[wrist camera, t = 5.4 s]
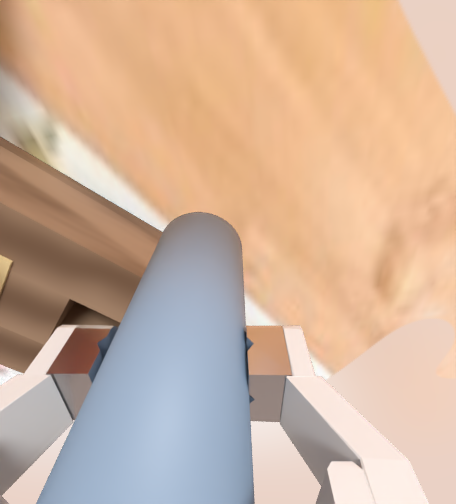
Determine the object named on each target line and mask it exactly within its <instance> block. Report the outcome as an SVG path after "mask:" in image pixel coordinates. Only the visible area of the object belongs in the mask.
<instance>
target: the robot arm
mask: <svg viewBox="0 0 456 504" xmlns="http://www.w3.org/2000/svg"><path fill="white" fill-rule="evenodd" d="M117 330H118V327H116V326H104V325H61V326H59V327H58V328H57V329H56V330H55V331H54V333H53V334H52V335H51V337H50V338H49V340H48V341H47V342H46V344H45V345H44V346H43V348H42V349H41V351H40V352H39V353H38V355H37V356H36V357H35V359H34V360H33V362H32V363H31V364H30V366H29V367H28V369H27V370H26V371H25V373H24V374H21V375H16V376H14V377H13V378H11V379H10V380H8V381H7V382H5V383H4V384H2V385H0V504H8V502H7V501H6V500H5V499H4V498H3V497H2V495H3V494H4V493H5V492H6V491H7V490H8V489H9V487H11V486H12V485H13V483H14V482H15V481H16V480H17V479H18V478H19V477H20V476H21V475H22V474H23V473H24V472H25V471H26V470H27V469H28V468H29V467H30V466H31V465H32V464H33V463H34V462H35V461H36V460H37V459H38V458H39V457H40V456H41V455H42V454H43V453H44V452H45V451H46V450H47V449H48V448H49V447H50V446H51V445H52V444H53V443H54V441H55V440H56V439H57V438H58V437H59V436H60V435H61V434H62V433H63V432H64V431H65V430H66V429H67V428H68V427H69V426H70V425H71V424H72V423H73V420H75V419H76V417H77V415H78V413H79V411H80V409H81V407H82V404H83V402H84V400H85V398H86V396H87V394H88V392H89V389H90V387H91V385H92V383H93V381H94V379H95V377H96V374H97V372H98V370H99V368H100V366H101V364H102V362H103V359H104V357H105V355H106V353H107V351H108V349H109V347H110V345H111V342H112V340H113V338H114V336H115V334H116V332H117ZM246 352H247V375H248V392H249V403H250V421H266V422H280V425H281V426H282V427H283V429H284V430H285V432H286V434H287V435H288V437H289V438H290V440H291V441H292V443H293V444H294V446H295V447H296V449H297V450H298V452H299V453H300V455H301V456H302V457H303V459H304V461H305V462H306V464H307V465H308V467H309V468H310V470H311V471H312V473H313V474H314V476H315V477H316V479H317V480H318V482H319V483H320V485H321V489H320V492H319V495H318V498H317V501H316V504H429V503H428V500H427V498H426V496H425V494H424V492H423V490H422V488H421V485H420V483H419V481H418V479H417V477H416V475H415V473H414V470H413V468H412V466H411V464H410V462H409V460H408V459H407V458H406V457H405V456H404V455H403V454H401V453H400V452H399V451H398V450H397V449H396V448H395V447H394V446H393V445H392V444H391V443H390V442H389V441H388V440H387V439H386V438H385V437H384V436H383V435H382V434H381V433H380V432H379V431H378V430H377V429H375V427H374V426H372V425H371V424H370V423H369V422H368V421H367V420H366V419H365V418H364V417H363V416H362V415H361V414H360V413H359V412H358V411H357V410H356V409H355V408H354V407H353V406H352V405H351V404H349V403H348V401H346V400H345V399H344V398H343V397H342V396H341V395H340V394H339V393H338V392H337V391H336V390H335V389H334V388H333V387H332V386H331V385H330V384H329V383H328V382H327V381H326V380H325V379H324V378H323V377H321V376H315V372H314V369H313V365H312V362H311V358H310V355H309V351H308V348H307V344H306V341H305V337H304V333H303V330H302V328H301V326H300V325H291V326H246Z"/></svg>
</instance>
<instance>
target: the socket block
mask: <svg viewBox="0 0 456 504" xmlns="http://www.w3.org/2000/svg"><path fill="white" fill-rule="evenodd" d="M162 233H163V232H161V231H159V230H158V229H156V228H154V227H153V226H151V225H149V224H148V223H146V222H144V221H142V220H141V219H139V218H137V217H136V216H134V215H132V214H131V213H129V212H127V211H125V210H124V209H122V208H120V207H119V206H117V205H115V204H114V203H112V202H110V201H108V200H107V199H105V198H103V197H102V196H100V195H98V194H97V193H95V192H93V191H92V190H90V189H88V188H86V187H85V186H83V185H81V184H80V183H78V182H76V181H75V180H73V179H71V178H69V177H68V176H66V175H64V174H63V173H61V172H59V171H58V170H56V169H54V168H52V167H51V166H49V165H47V164H46V163H44V162H42V161H41V160H39V159H37V158H36V157H34V156H32V155H30V154H29V153H27V152H25V151H24V150H22V149H20V148H19V147H17V146H15V145H13V144H12V143H10V142H8V141H7V140H5V139H3V138H2V137H0V364H1V365H4V366H6V367H9V368H11V369H14V370H16V371H19V372H22V373H25V371H26V370H27V369H28V367H29V366H30V364H31V363H32V362H33V360H34V359H35V357H36V356H37V355H38V353H39V352H40V351H41V349H42V348H43V346H44V345H45V344H46V342H47V341H48V340H49V338H50V337H51V335H52V334H53V333H54V331H55V330H56V329H57V328H58V327H59V326H61V325H104V326H116V327H119V325H120V323H121V321H122V319H123V317H124V315H125V312H126V310H127V308H128V306H129V304H130V302H131V300H132V297H133V295H134V293H135V291H136V289H137V287H138V285H139V282H140V280H141V278H142V276H143V274H144V272H145V270H146V268H147V265H148V263H149V261H150V259H151V257H152V255H153V253H154V250H155V248H156V246H157V244H158V242H159V240H160V238H161V235H162Z"/></svg>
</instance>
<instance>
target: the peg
mask: <svg viewBox="0 0 456 504" xmlns="http://www.w3.org/2000/svg"><path fill="white" fill-rule="evenodd" d="M36 504H254V484H253V465H252V443H251V425H250V403H249V392H248V375H247V352H246V321H245V301H244V281H243V260H242V245H241V241H240V238H239V236H238V234H237V232H236V231H235V229H234V228H233V227H232V226H231V225H230V224H229V223H228V222H227V221H225V220H224V219H222V218H220V217H218V216H216V215H213V214H209V213H203V212H194V213H188V214H184V215H182V216H179V217H178V218H176V219H174V220H173V221H172V222H170V223H169V224H168V225H167V227H166V228H165V230H164V231H163V233H162V235H161V238H160V240H159V242H158V244H157V246H156V248H155V250H154V253H153V255H152V257H151V259H150V261H149V263H148V265H147V268H146V270H145V272H144V274H143V276H142V278H141V280H140V282H139V285H138V287H137V289H136V291H135V293H134V295H133V297H132V300H131V302H130V304H129V306H128V308H127V310H126V312H125V315H124V317H123V319H122V321H121V323H120V325H119V327H118V330H117V332H116V334H115V336H114V338H113V340H112V342H111V345H110V347H109V349H108V351H107V353H106V355H105V357H104V359H103V362H102V364H101V366H100V368H99V370H98V372H97V374H96V377H95V379H94V381H93V383H92V385H91V387H90V389H89V392H88V394H87V396H86V398H85V400H84V402H83V404H82V407H81V409H80V411H79V413H78V415H77V417H76V419H75V422H74V424H73V426H72V428H71V430H70V432H69V435H68V436H67V439H66V441H65V443H64V445H63V447H62V449H61V451H60V454H59V456H58V458H57V460H56V462H55V464H54V467H53V469H52V471H51V473H50V475H49V477H48V479H47V482H46V484H45V486H44V488H43V490H42V492H41V494H40V496H39V499H38V501H37V503H36Z"/></svg>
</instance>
